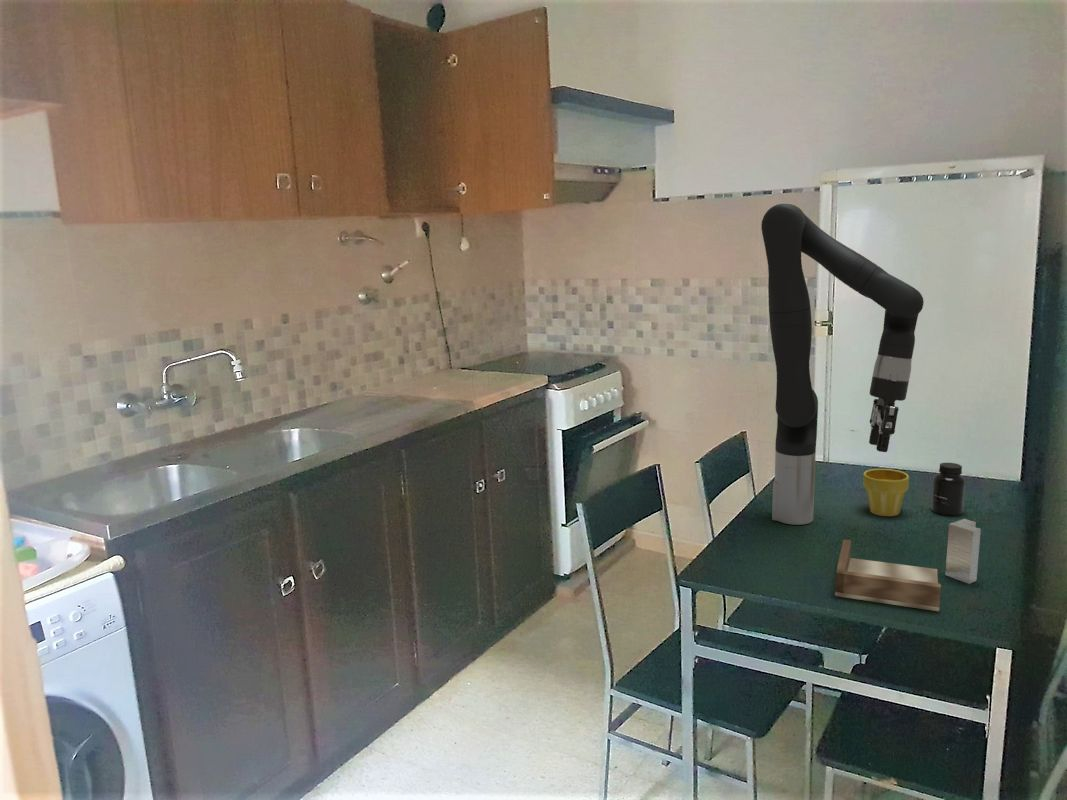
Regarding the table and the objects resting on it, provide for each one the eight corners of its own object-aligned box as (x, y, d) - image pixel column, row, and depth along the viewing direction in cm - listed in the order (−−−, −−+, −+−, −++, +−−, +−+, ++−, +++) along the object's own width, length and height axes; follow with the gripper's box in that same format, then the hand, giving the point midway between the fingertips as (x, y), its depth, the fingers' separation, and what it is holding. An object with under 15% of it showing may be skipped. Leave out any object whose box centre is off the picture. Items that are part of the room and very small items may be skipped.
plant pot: (852, 509, 200) (854, 471, 198) (883, 502, 204) (886, 465, 202) (884, 522, 190) (886, 483, 188) (916, 515, 194) (919, 476, 192)
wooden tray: (834, 595, 154) (836, 572, 153) (842, 560, 170) (843, 539, 169) (939, 611, 146) (940, 587, 145) (936, 572, 162) (938, 550, 161)
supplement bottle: (932, 515, 194) (935, 467, 191) (930, 506, 200) (933, 460, 197) (964, 518, 191) (968, 470, 189) (961, 508, 197) (964, 462, 195)
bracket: (945, 575, 161) (949, 523, 159) (960, 569, 164) (964, 518, 161) (969, 584, 157) (973, 531, 155) (984, 577, 159) (988, 525, 157)
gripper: (867, 372, 185) (854, 440, 187) (879, 377, 171) (866, 451, 173) (901, 376, 183) (888, 445, 185) (916, 382, 169) (902, 456, 172)
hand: (877, 448), depth 179 cm, fingers open, 8 cm apart
